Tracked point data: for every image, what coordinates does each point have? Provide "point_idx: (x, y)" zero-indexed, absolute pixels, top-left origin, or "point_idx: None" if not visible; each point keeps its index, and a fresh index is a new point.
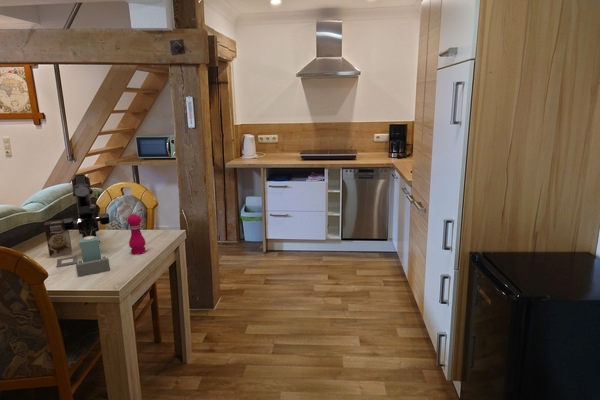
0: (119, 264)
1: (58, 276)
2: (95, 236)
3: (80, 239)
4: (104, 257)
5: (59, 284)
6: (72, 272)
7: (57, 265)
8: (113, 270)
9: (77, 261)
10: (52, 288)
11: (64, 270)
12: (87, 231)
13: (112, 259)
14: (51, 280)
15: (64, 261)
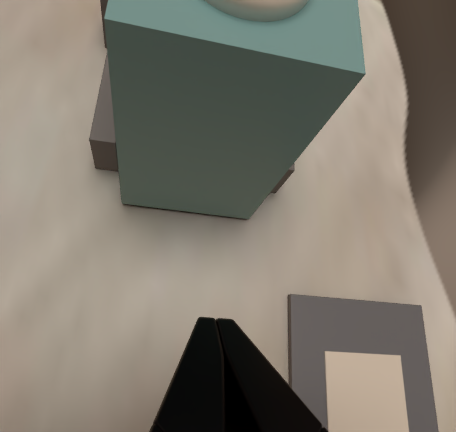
0: (23, 73)
1: (381, 137)
2: (145, 13)
3: (352, 34)
4: (102, 119)
5: (362, 34)
6: (314, 144)
7: (419, 330)
8: (92, 10)
9: (291, 329)
10: (384, 14)
11: (361, 213)
12: (250, 391)
13: (30, 212)
14: (405, 106)
15: (386, 398)
